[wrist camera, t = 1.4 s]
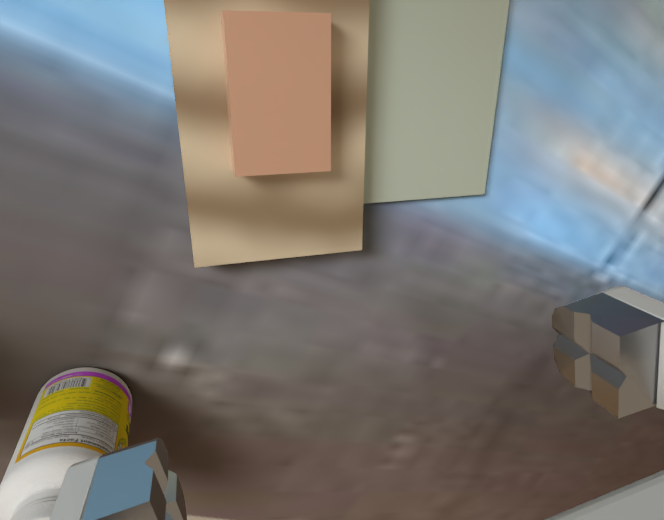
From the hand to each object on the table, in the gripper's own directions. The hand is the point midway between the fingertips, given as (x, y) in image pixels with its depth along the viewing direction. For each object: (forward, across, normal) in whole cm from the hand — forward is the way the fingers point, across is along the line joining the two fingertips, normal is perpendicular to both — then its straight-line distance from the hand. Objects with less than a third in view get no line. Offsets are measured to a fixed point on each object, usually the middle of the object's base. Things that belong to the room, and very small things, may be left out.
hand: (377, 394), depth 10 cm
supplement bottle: (+28, +16, +13) cm, 35 cm away
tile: (+24, -3, -6) cm, 25 cm away
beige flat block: (+26, -3, -6) cm, 27 cm away
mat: (+26, -14, -4) cm, 30 cm away
